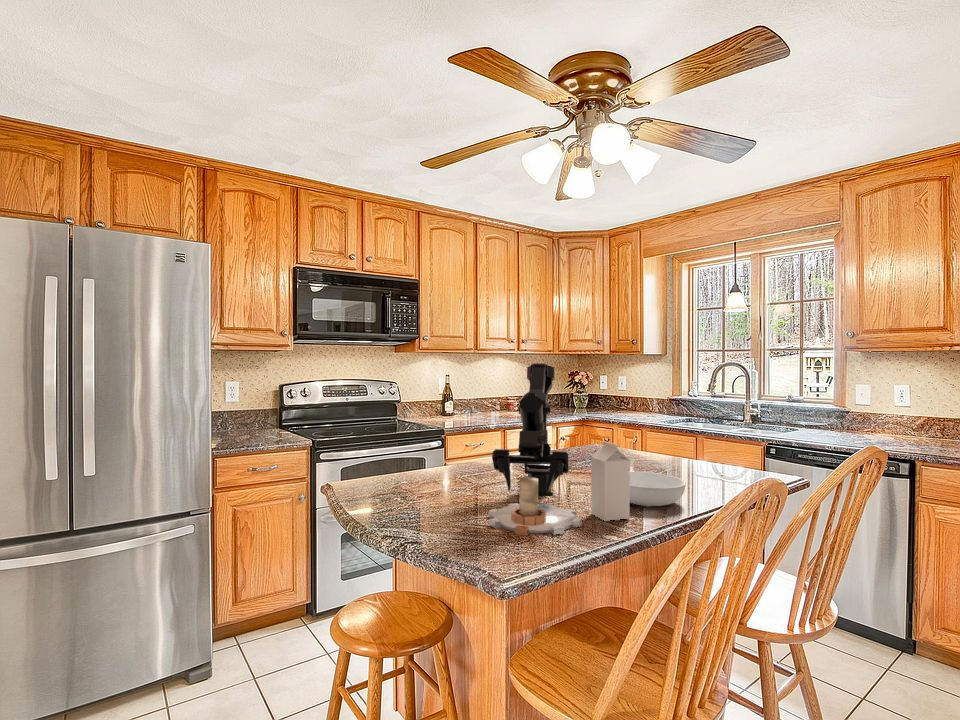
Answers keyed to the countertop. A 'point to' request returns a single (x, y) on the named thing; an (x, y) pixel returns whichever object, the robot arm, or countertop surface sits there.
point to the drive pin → (528, 496)
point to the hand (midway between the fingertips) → (528, 490)
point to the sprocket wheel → (534, 519)
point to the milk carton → (610, 483)
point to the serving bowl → (655, 489)
